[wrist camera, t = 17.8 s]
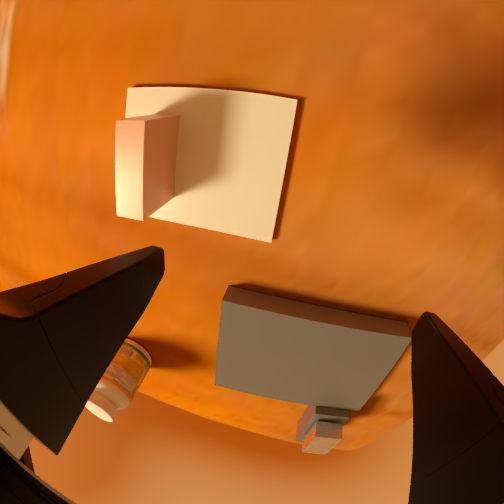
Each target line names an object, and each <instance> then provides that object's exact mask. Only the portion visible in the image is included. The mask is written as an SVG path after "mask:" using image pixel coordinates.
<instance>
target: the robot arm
mask: <svg viewBox="0 0 504 504" xmlns="http://www.w3.org/2000/svg"><path fill="white" fill-rule="evenodd" d="M164 271H165V261H164V250H163V249H162V248H160V247H156V246H149V247H146V248H143V249H139V250H136V251H133V252H130V253H126V254H123V255H120V256H117V257H113V258H110V259H107V260H104V261H101V262H98V263H94V264H91V265H88V266H85V267H82V268H79V269H76V270H73V271H70V272H67V274H66V273H64V274H61V275H58V276H55V277H52V278H48V279H45V280H42V281H38V282H35V283H31V284H28V285H24V286H20V287H17V288H13V289H9V290H6V291H2V292H0V504H76V503H74V502H73V501H71V500H70V499H68V498H66V497H65V496H64V495H62V494H61V493H59V492H58V491H57V490H55V489H54V488H53V487H51V486H50V485H49V484H47V483H46V482H45V481H43V480H42V479H41V478H40V477H38V476H37V475H36V474H35V472H34V468H33V464H32V459H31V454H30V449H29V446H28V445H29V444H30V442H31V441H32V439H33V438H35V439H36V440H37V441H39V442H40V443H41V444H42V445H44V446H45V447H46V448H47V449H49V450H50V451H51V452H53V453H54V454H56V455H58V454H59V452H60V450H61V448H62V446H63V445H64V443H65V441H66V439H67V437H68V435H69V434H70V432H71V430H72V428H73V426H74V425H75V423H76V421H77V419H78V418H79V416H80V414H81V412H82V411H83V409H84V407H85V405H86V403H87V402H88V400H89V398H90V396H91V395H92V393H93V391H94V390H95V388H96V386H97V385H98V383H99V381H100V380H101V378H102V376H103V375H104V373H105V371H106V370H107V368H108V367H109V365H110V363H111V362H112V360H113V359H114V357H115V355H116V354H117V352H118V351H119V349H120V348H121V346H122V344H123V343H124V341H125V340H126V338H127V337H128V335H129V334H130V332H131V330H132V329H133V327H134V326H135V324H136V323H137V321H138V320H139V318H140V317H141V315H142V314H143V312H144V311H145V309H146V307H147V305H148V304H149V302H150V300H151V298H152V296H153V294H154V292H155V290H156V288H157V286H158V284H159V282H160V281H161V279H162V277H163V275H164ZM411 375H412V393H413V459H412V474H411V485H410V493H409V502H408V504H504V386H503V385H502V384H501V382H500V381H499V380H498V379H497V378H496V377H495V376H493V373H492V372H491V371H490V370H489V369H488V368H487V367H486V366H485V365H484V363H483V362H482V361H481V360H480V359H479V358H478V357H477V356H476V355H475V354H474V353H473V352H472V351H471V349H470V348H469V347H468V346H467V345H466V344H465V343H464V342H463V341H462V340H461V339H460V338H459V337H458V336H457V335H456V334H455V333H454V332H453V331H452V330H451V329H450V328H449V327H448V326H447V325H446V324H445V323H444V322H443V321H442V320H441V319H440V318H439V317H438V316H437V315H436V314H434V313H431V312H424V313H423V314H422V315H421V317H420V319H419V320H418V322H417V324H416V325H415V327H414V329H413V331H412V362H411Z"/></svg>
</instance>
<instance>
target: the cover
mask: <svg viewBox="0 0 504 504" xmlns="http://www.w3.org/2000/svg"><path fill="white" fill-rule="evenodd" d="M297 102H298V100H296V99H291V98H285V97H279V96H273V95H266V94H259V93H251V92H243V91H233V90H222V89H209V88H190V87H135V88H128V91H127V103H126V118H125V119H119V120H116V136H115V183H116V207H117V216H121V217H126V218H131V219H136V220H140V221H144V220H145V219H147V218H148V217H152V218H157V219H161V220H166V221H171V222H176V223H181V224H186V225H190V226H195V227H200V228H205V229H209V230H214V231H219V232H224V233H228V234H233V235H238V236H242V237H247V238H252V239H256V240H261V241H265V242H270V243H271V242H272V238H273V233H274V228H275V223H276V217H277V212H278V207H279V202H280V196H281V191H282V186H283V180H284V175H285V170H286V164H287V159H288V153H289V148H290V142H291V136H292V131H293V125H294V120H295V114H296V108H297Z"/></svg>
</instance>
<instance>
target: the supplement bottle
mask: <svg viewBox="0 0 504 504" xmlns="http://www.w3.org/2000/svg"><path fill="white" fill-rule="evenodd" d="M151 363H152V360H151V357H150V355H149V353H148V352H147V351H146V350H145V349H144V348H143V347H142V346H141V345H140V344H138V343H136V342H135V341H133V340H130V339H126V340H125V341H124V343H123V344H122V346H121V348H120V349H119V351H118V352H117V354H116V355H115V357H114V359H113V360H112V362H111V363H110V365H109V367H108V368H107V370H106V371H105V373H104V375H103V376H102V378H101V380H100V381H99V383H98V385H97V386H96V388H95V390H94V391H93V393H92V395H91V396H90V398H89V400H88V402H87V403H86V405H85V406H86V408H87V409H88V410H90V411H91V412H92V413H93V414H95V415H96V416H98V417H99V418H101V419H103V420H105V421H108V422H113V420H114V419H115V417H116V416H117V412H118V410H117V409H125V408H127V407H128V406H129V405H130V403H131V401H132V399H133V397H134V396H135V394H136V392H137V390H138V388H139V387H140V385H141V383H142V381H143V380H144V378H145V376H146V374H147V372H148V371H149V369H150V367H151Z"/></svg>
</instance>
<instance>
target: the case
mask: <svg viewBox="0 0 504 504" xmlns="http://www.w3.org/2000/svg"><path fill="white" fill-rule="evenodd" d="M411 340H412V335H411V331H410V328H409V325H408V322H402V321H396V320H391V319H385V318H380V317H374V316H369V315H364V314H358V313H353V312H348V311H343V310H338V309H333V308H328V307H323V306H318V305H313V304H309V303H304V302H299V301H295V300H290V299H285V298H281V297H276V296H272V295H267V294H263V293H259V292H254V291H250V290H246V289H241V288H237V287H233V286H228V288H227V291H226V293H225V295H224V297H223V299H222V306H221V317H220V328H219V339H218V350H217V362H216V374H215V385H218V386H221V387H225V388H229V389H233V390H237V391H241V392H245V393H249V394H253V395H258V396H263V397H267V398H272V399H277V400H282V401H288V402H293V403H299V404H305V405H309V406H308V407H307V409H306V410H305V412H304V414H303V415H302V417H301V418H300V420H299V422H298V428H297V436H296V441H299V442H303V439H304V437H305V436H306V434H307V433H308V432H309V430H310V429H311V428H312V426H313V425H314V424H315V422H316V421H321V422H329V423H338V424H342V427H343V426H344V424H345V423H346V422H347V421H348V420H349V419H350V410H351V411H359V410H360V409H361V408H362V406H363V405H364V404H365V403H366V402H367V400H368V399H369V398H370V397H371V395H372V394H373V393H374V392H375V390H376V389H377V388H378V386H379V385H380V384H381V383H382V381H383V380H384V379H385V377H386V376H387V375H388V373H389V372H390V370H391V369H392V368H393V366H394V365H395V364H396V362H397V361H398V359H399V358H400V356H401V355H402V353H403V352H404V350H405V349H406V347H407V346H408V344H409V343H410V341H411Z"/></svg>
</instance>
